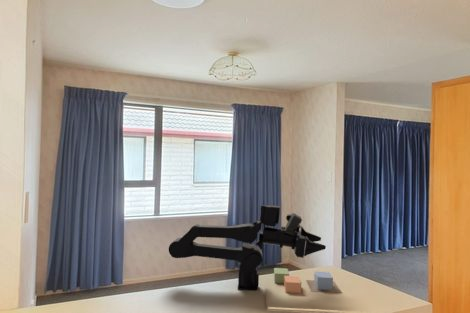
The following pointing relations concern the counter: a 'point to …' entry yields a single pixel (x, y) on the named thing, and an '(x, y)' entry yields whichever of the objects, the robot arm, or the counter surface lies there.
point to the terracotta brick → (292, 284)
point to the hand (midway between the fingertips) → (323, 242)
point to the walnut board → (314, 289)
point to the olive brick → (280, 274)
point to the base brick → (323, 280)
